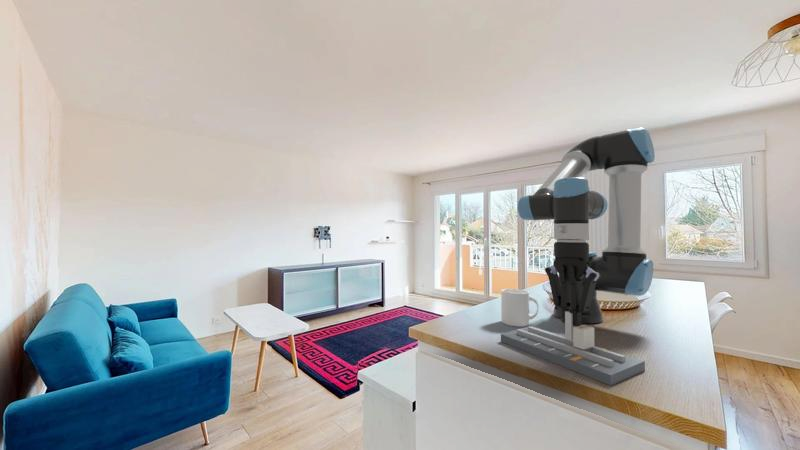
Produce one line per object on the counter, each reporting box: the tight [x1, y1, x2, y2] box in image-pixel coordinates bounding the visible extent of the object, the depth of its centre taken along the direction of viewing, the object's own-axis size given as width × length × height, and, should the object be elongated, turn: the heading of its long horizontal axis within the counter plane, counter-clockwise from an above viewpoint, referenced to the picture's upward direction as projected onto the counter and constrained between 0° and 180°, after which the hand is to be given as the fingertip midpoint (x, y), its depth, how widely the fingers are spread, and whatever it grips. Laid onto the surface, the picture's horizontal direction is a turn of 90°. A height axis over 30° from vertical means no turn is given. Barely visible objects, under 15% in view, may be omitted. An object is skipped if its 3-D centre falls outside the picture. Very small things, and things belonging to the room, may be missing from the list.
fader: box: [573, 324, 596, 352], centre depth 72 cm, size 4×2×6 cm, turn 119°
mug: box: [500, 288, 539, 328], centre depth 102 cm, size 9×12×11 cm
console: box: [500, 326, 646, 386], centre depth 76 cm, size 14×28×3 cm, turn 29°
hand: (571, 338), depth 75 cm, fingers closed
